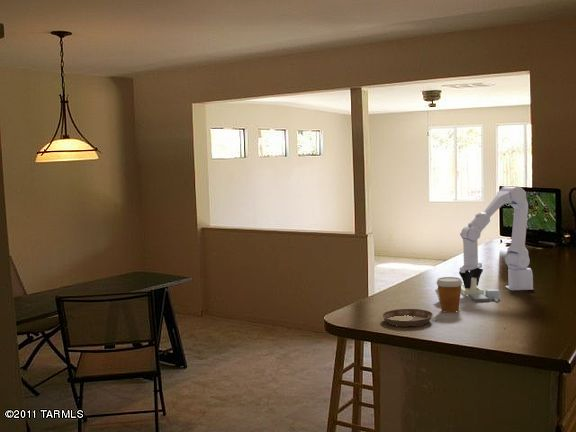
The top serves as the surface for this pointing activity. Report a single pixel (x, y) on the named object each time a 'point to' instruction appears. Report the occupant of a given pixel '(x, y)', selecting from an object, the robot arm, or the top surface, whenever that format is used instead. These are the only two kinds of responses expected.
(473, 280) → the charger
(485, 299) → the phone
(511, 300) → the top surface
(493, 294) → the cable plug
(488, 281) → the top surface
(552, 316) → the top surface
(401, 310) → the plant saucer
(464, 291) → the outlet plate
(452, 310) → the disposable coffee cup
